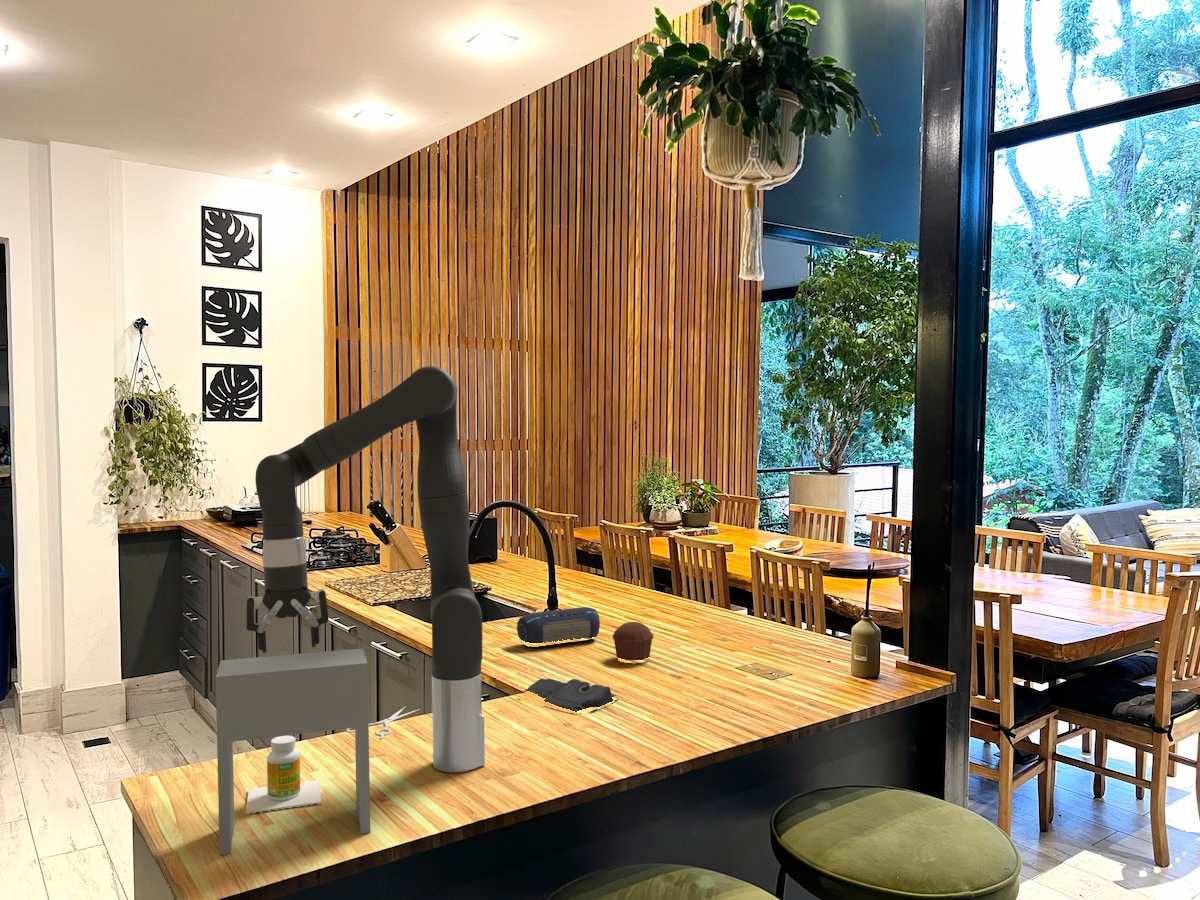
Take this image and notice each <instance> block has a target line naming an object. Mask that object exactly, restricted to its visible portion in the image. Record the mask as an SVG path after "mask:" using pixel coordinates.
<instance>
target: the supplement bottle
mask: <svg viewBox="0 0 1200 900" xmlns="http://www.w3.org/2000/svg"><path fill="white" fill-rule="evenodd" d="M296 745H297V743H296V737H295V736H292V735H286V736H277V737H273V738H272V739H271V740H270V749H271V750H272V751H270V752H269V753H268V754H267V757H266V766H267V767H266V770H267V771H266V775H267V779H266V780H267V784H266V787H268V788H267V789H268V797H269V798H270V799H272V800H288V799H291V798H294V797H296V796H297V795H299V793H300V782H301V755H300V751H299V749H297V748H295V747H296Z"/></svg>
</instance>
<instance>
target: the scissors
mask: <svg viewBox="0 0 1200 900" xmlns="http://www.w3.org/2000/svg"><path fill="white" fill-rule="evenodd" d="M405 708H406V706H404V707H402V708H401V709H400V710H398V711H397V712H394V713H393V714H392V715H391V716H390V717H388V718H384V719H383V720H379V721H377V722H373V723H372V722H371V723H369V727H370V726H375V725H382V724H384V727H383V728H380V729H377V730H376V731H375V734H376V735H377V736H379V737H380V738H379V739H380V740H384V739H385V738H384V737H385V736H388V735H390V734H391V733H392V730H391V729H390V728H389V726H390V725H389V724H390V723H392V721H395V720H397V719H400V718H402V717H405V716H408V715H410V714H412V713H414V712H415V713H416V712H417V711H419V710H420V708H418V709H416V710H412V711H410V712H409V711H408V712H407V713H403V714H401V712H402V711H403V710H404V709H405ZM400 714H401V715H400ZM387 724H388V725H387ZM384 731H385V733H381V732H384ZM346 732H349V733H355V729H354V730H352V728H348V729H346Z"/></svg>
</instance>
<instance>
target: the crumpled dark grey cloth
mask: <svg viewBox="0 0 1200 900" xmlns="http://www.w3.org/2000/svg"><path fill="white" fill-rule="evenodd" d="M590 685H591V684H590V683H589V682H588V681H581V680H579V679H577V678H573V679H570V680H568V681H567V682H564V681H563V682H562V681H560V680H556V679H552V678H540V679H538V680H536V681H535V682H533V683H532V684H530V685H529V686H528V687H527V688H528V689H527V688H526V689H525V690H526V691H530V692H533V693H535V694H538V696H540V697H542V698H546V699H545V700H544V701H545V702H549V703H551V704H554V705H556V706H559V707H562V708H566V709H570V710H572V711H575V712H577V711H579V710H582V709H586V708H589V707H600V706H602V705H605V704H607V703H609V702H612V701H613V699H612V697H614V696H616V695H617V694H614V693H612V691H611V688H610V686H604V685H599V684H592V685H591V686H590ZM526 691H525V692H526Z"/></svg>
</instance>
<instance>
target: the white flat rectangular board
mask: <svg viewBox="0 0 1200 900" xmlns="http://www.w3.org/2000/svg"><path fill="white" fill-rule="evenodd" d="M267 788H268V787H267V786H264V787H262V786H261V787H257V788H256V787H255V788H248V791H247V800H246V807H245V808H246V809H245V815H251V814H250V813H253V814H257V813H256V812H260V813H264V812H263V811H268V812H272V811H271V810H275V811H279V810H278V809H282V810H286V809H285V808H289V809H293V808H292V807H297V808H301V807H300V806H304V807H309V806H308V805H311V806H314V805H313V804H318V805H322V792H321V791H322V790H321V780H320V779H318V780H310V781H302V782H301V781H300V793H299V795H297V796H296V797H294V798H291V799H288V800H272V799H270V798H269V797H268V789H267Z"/></svg>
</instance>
